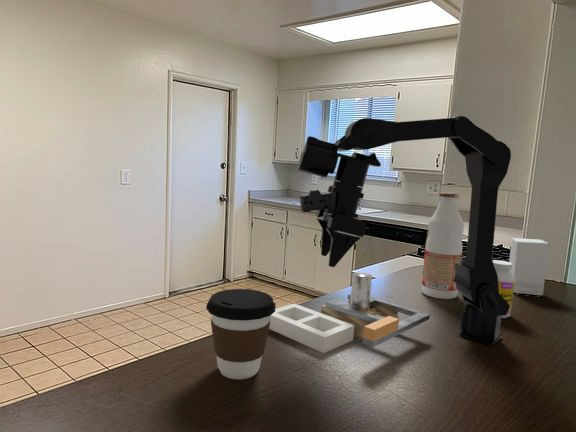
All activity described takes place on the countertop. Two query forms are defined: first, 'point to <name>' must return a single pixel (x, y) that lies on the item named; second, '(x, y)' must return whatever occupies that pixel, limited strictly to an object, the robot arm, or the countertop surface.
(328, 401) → the countertop surface
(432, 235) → the fruit juice
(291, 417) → the countertop surface
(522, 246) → the skincare box
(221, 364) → the coffee cup
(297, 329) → the white hollow block
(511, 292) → the supplement bottle
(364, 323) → the socket block
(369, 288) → the flanged silver cylinder
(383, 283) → the countertop surface
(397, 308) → the key plate
